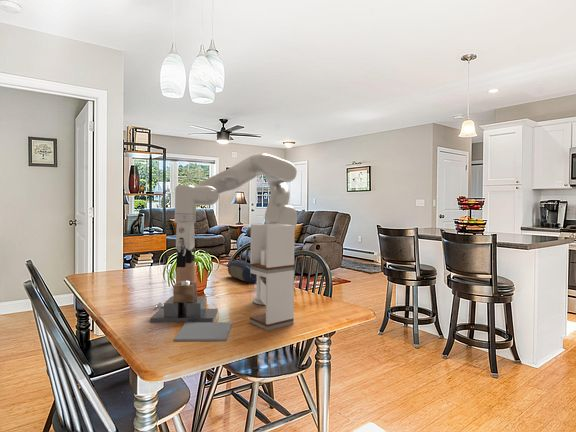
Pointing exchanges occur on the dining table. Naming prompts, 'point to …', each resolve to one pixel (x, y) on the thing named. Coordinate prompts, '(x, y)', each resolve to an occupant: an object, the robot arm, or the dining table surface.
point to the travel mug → (187, 271)
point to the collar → (185, 292)
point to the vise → (184, 310)
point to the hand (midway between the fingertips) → (184, 265)
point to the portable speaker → (241, 271)
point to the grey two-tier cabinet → (274, 273)
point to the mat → (204, 331)
